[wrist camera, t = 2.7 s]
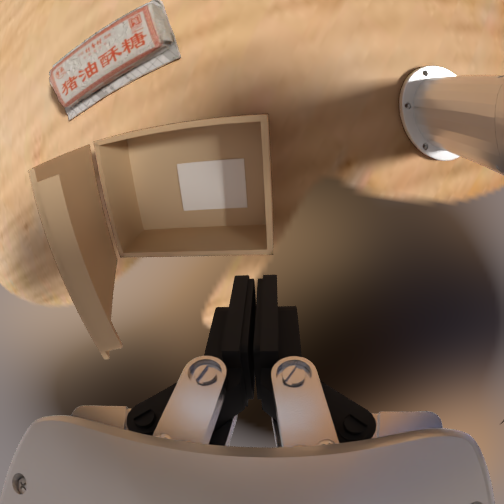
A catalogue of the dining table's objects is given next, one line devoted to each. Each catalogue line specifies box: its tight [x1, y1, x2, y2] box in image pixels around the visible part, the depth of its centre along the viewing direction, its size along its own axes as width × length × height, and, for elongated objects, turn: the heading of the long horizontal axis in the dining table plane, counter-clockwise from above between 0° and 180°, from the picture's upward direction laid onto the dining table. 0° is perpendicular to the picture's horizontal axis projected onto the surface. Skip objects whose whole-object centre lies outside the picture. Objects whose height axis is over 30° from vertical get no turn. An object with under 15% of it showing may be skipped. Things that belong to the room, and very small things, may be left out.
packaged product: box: [49, 0, 181, 120], centre depth 23 cm, size 18×5×10 cm
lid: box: [28, 145, 122, 359], centre depth 20 cm, size 16×14×2 cm
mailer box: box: [94, 114, 273, 257], centre depth 29 cm, size 18×14×7 cm
